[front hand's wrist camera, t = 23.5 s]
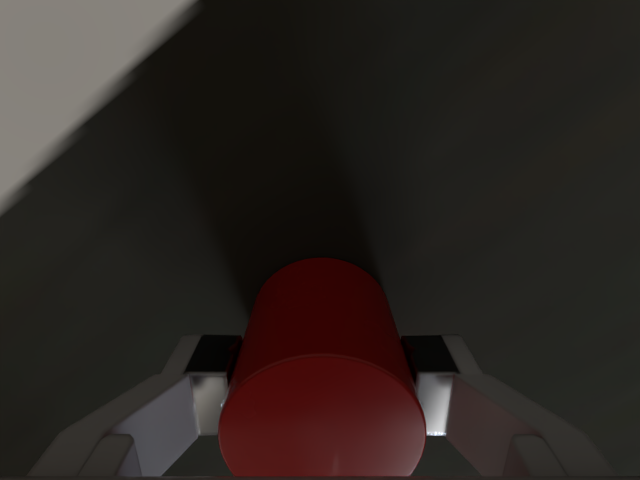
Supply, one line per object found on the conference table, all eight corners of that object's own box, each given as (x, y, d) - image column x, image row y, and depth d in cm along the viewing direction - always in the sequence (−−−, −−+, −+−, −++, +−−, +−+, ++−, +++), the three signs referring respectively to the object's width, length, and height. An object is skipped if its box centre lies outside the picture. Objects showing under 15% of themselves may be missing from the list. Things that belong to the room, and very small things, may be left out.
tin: (224, 314, 12) (172, 435, 8) (327, 228, 11) (332, 313, 7) (316, 395, 13) (314, 539, 9) (417, 323, 12) (469, 448, 8)
